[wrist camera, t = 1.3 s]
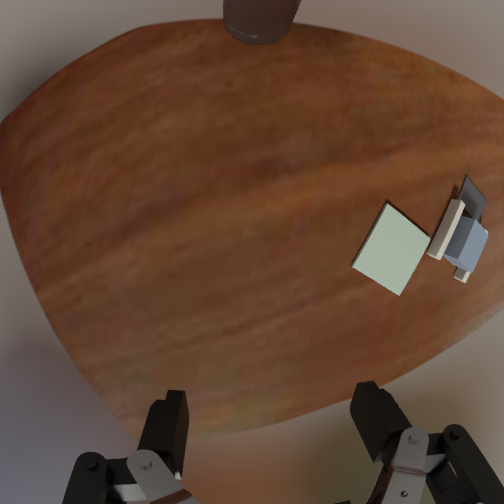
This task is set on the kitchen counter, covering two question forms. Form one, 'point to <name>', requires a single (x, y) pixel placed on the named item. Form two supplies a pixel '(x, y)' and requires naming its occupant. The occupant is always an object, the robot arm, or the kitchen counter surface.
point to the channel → (472, 205)
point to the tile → (391, 250)
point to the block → (466, 244)
